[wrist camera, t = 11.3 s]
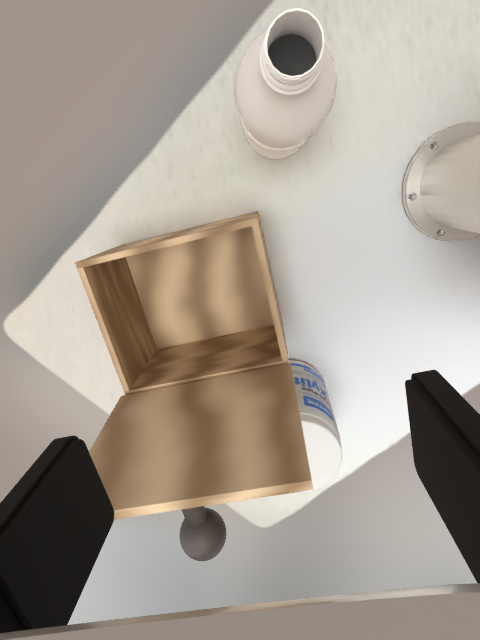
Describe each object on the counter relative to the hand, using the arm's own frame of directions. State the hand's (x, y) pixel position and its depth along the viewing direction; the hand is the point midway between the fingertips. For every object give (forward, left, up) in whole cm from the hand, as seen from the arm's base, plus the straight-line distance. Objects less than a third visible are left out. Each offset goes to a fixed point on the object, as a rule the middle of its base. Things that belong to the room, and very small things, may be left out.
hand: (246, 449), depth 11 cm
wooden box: (+8, +3, -38) cm, 39 cm away
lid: (+8, +11, -18) cm, 23 cm away
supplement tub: (0, +20, -38) cm, 43 cm away
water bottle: (-5, -13, -38) cm, 41 cm away
